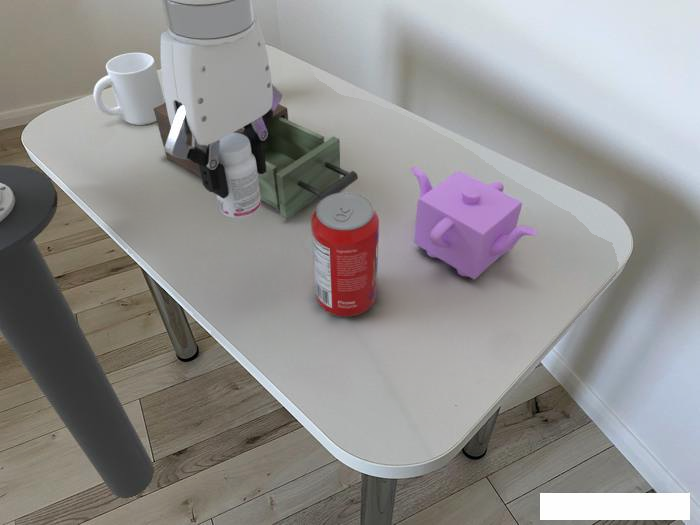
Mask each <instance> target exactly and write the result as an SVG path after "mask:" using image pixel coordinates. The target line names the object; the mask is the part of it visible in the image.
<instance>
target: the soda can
mask: <svg viewBox="0 0 700 525" xmlns="http://www.w3.org/2000/svg"><path fill="white" fill-rule="evenodd" d="M310 226H311V227H310V228H311V229H310V230H311V231H310V232H311V242H312V243H311V244H312V258H313V270H314V284H315V296H316V300H317V302H318V304H319V305H320V307H321V308H322V309H323V310H325V311H326V312H327V313H329V314H331V315H334V316H338V317H355V316H357V315H361V314H363V313H365V312H366V311H368V310H369V309H370V308H371V307H372V306H373V305H374V303H375V301H376V298H377V293H378V292H377V291H378V267H379V266H378V264H379V261H378V260H379V238H380V220H379V215H378V213H377V212H376V211H375V209H374V206H373V204H372V202H371V201H370V200H369V199H368V198H367V197H366V196H363V195H362V194H359V193H354V192H349V191H343V192H342V191H341V192H340V193H335V194H332V195H329V196H327V197H325V198H324V199H322V200H320V201H319V202H318V204H317V206H316V209H315V211H314V212H313V214H312V216H311V220H310Z"/></svg>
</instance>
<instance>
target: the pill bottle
mask: <svg viewBox="0 0 700 525" xmlns="http://www.w3.org/2000/svg"><path fill="white" fill-rule="evenodd" d="M219 163H220V164H222V165H223V166H224V168H225V174H226V180H227V186H228V191H229V194H228V196H227V197H226V198H224V199H223V198H221V197H220V196H218V195H216V199H217V204H218V208H219V210H220V212H221V213H222V214H223V215H224V216H226V217H228V218H232V219H245V218H249V217H251V216H252V215H254V214H256V213H257V212H258V211H259V209H260V208H261V206H262V200H261V196H260V189H259V181H258V173H257V165H256V159H255V156H254V155H253V154H252V153H251V146H250V141H249V139H248V137H246V136H245V135H243V134H240V133H231V134H229V135H228V136H226V137H224V138H222V139H220V147H219Z"/></svg>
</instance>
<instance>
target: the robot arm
mask: <svg viewBox="0 0 700 525" xmlns="http://www.w3.org/2000/svg"><path fill="white" fill-rule="evenodd" d="M161 2H162V6H163V7H162V8H163V12H164V16H165V21H166V25H167V30H165V31H163V32H162V33H160V51H159V52H160V71H161V80H162V88H163V96H164V100H165V103H166V107H167V112H168V117H169V121H170V125H171V130H170V132H169V135H168V138H167V141H166V144H165V147H164V146H163V150H164V153H165V152H167V153H168V154H170V155H172V156H173V157H176V158H180V159H185V160H186V159H187V160H191V161H193V162H195V163H197V164H199V168H200V173H201V177H202V179H201V181H202V182H201V183H202V186H203V187H204V188H205V189H206V191H208V192H210V193H213V194H215V195H216V196H217V195H218V196H220V197H221V198H223V199H224V198H226V197H227V196H228V194H229V191H228V186H227V180H226V174H225V168H224V166H223V165H222V164H220V163H219V147H220V139H222V138H224V137H226V136H228V135H229V134H231V133H233V132H235V131H237V130H239V129H240V128H242V130H243V131H244V132H242V133H240V134H243V135H245V136H246V137H248V139H249V141H250V146H251V153H252V154H253V155H254V156H255V159H256V165H257V173H259V174H264V173H265V172H266V162H265V152H264V143H263V140H265V139H266V138H267V136H268V131H267V127H268V125H269V123H270V121H271V119H272V117H273V111H274V110H275V109H276V107H277V105H278V104H279V103H280V102H281V100H282V98H283V93H282V92H281V91H280V90H279V89H278V88H277V87H276V86H274V84H273V81H272V73H271V67H270V60H269V55H268V51H267V46H266V41H265V38H264V35H263V31H262V28H261V25H260V21H259V19H258V17H257V16H256V15H255V14H254V6H253V0H161ZM279 105H280V104H279ZM190 131H191V132H192V146H190V145H188V144H186V142H187V139H188V136H189V133H190ZM204 145H207V147H206V152H204ZM14 205H15V196H14V194H13V192H12V190H11V189H10V188H9V187H8V186H6V185H5V184H2V183H0V222H1V221H2V220H3V219H4V218H6V217H7V216H8V214H9V213H10V212H11V211H12V209H13V207H14Z"/></svg>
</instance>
